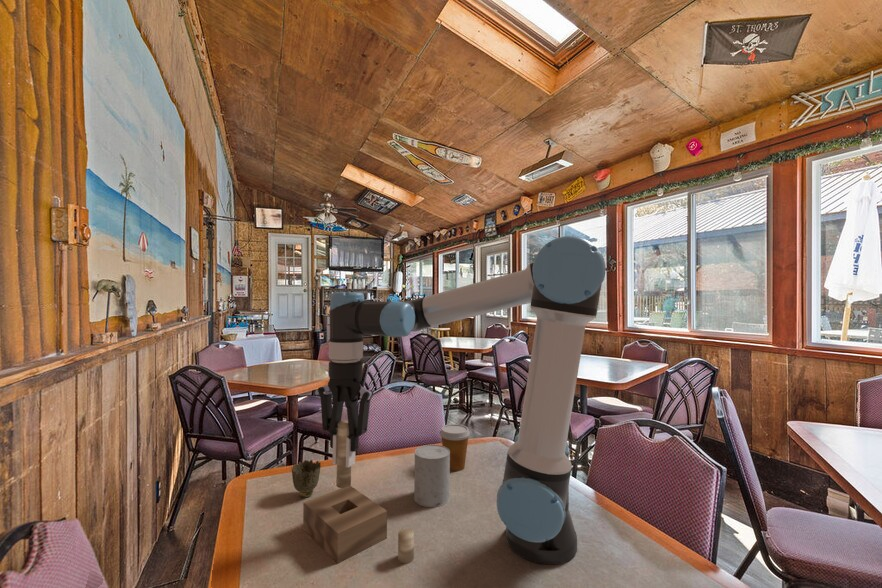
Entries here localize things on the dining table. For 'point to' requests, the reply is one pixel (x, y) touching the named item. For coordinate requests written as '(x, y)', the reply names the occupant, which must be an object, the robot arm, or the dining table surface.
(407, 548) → the short pin
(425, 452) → the speckled white tub
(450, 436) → the disposable coffee cup
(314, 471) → the olive hollow patterned container
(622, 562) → the dining table surface
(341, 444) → the long pin
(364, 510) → the hole block
